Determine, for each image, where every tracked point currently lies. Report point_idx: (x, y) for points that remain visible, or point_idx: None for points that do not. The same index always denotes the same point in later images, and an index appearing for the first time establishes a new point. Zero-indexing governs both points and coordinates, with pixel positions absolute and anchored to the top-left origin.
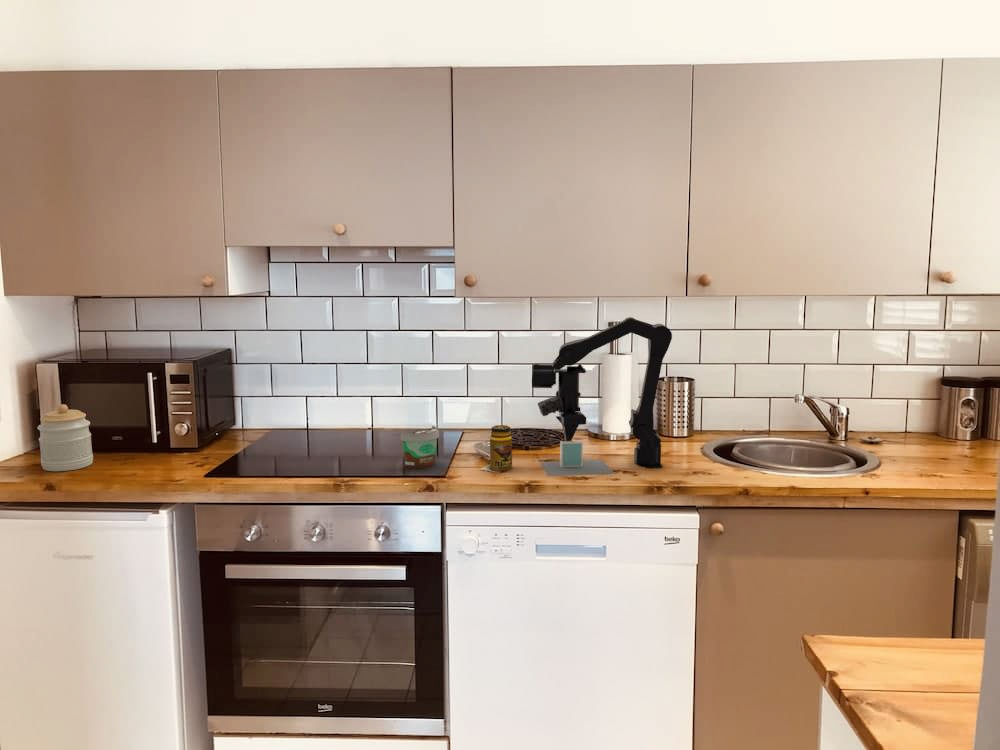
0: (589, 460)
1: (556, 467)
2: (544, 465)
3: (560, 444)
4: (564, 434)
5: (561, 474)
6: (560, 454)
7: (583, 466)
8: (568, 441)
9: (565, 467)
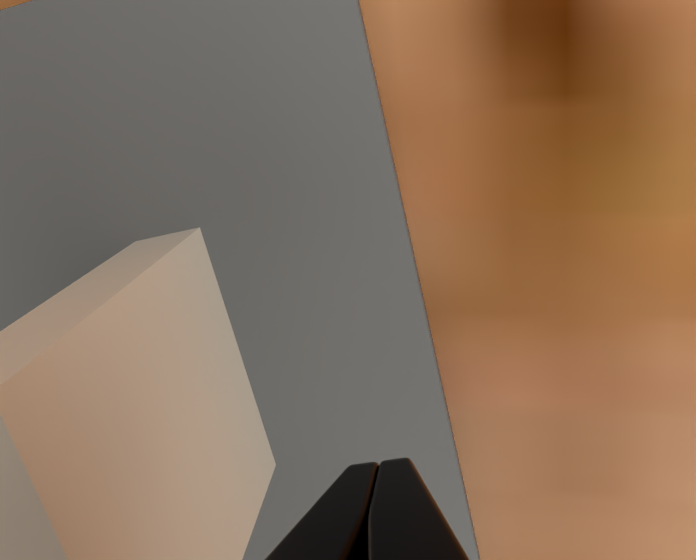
0: (479, 557)
1: (112, 183)
2: (173, 7)
3: (6, 364)
4: (396, 557)
5: None
6: (101, 287)
7: None
8: (19, 558)
9: None
